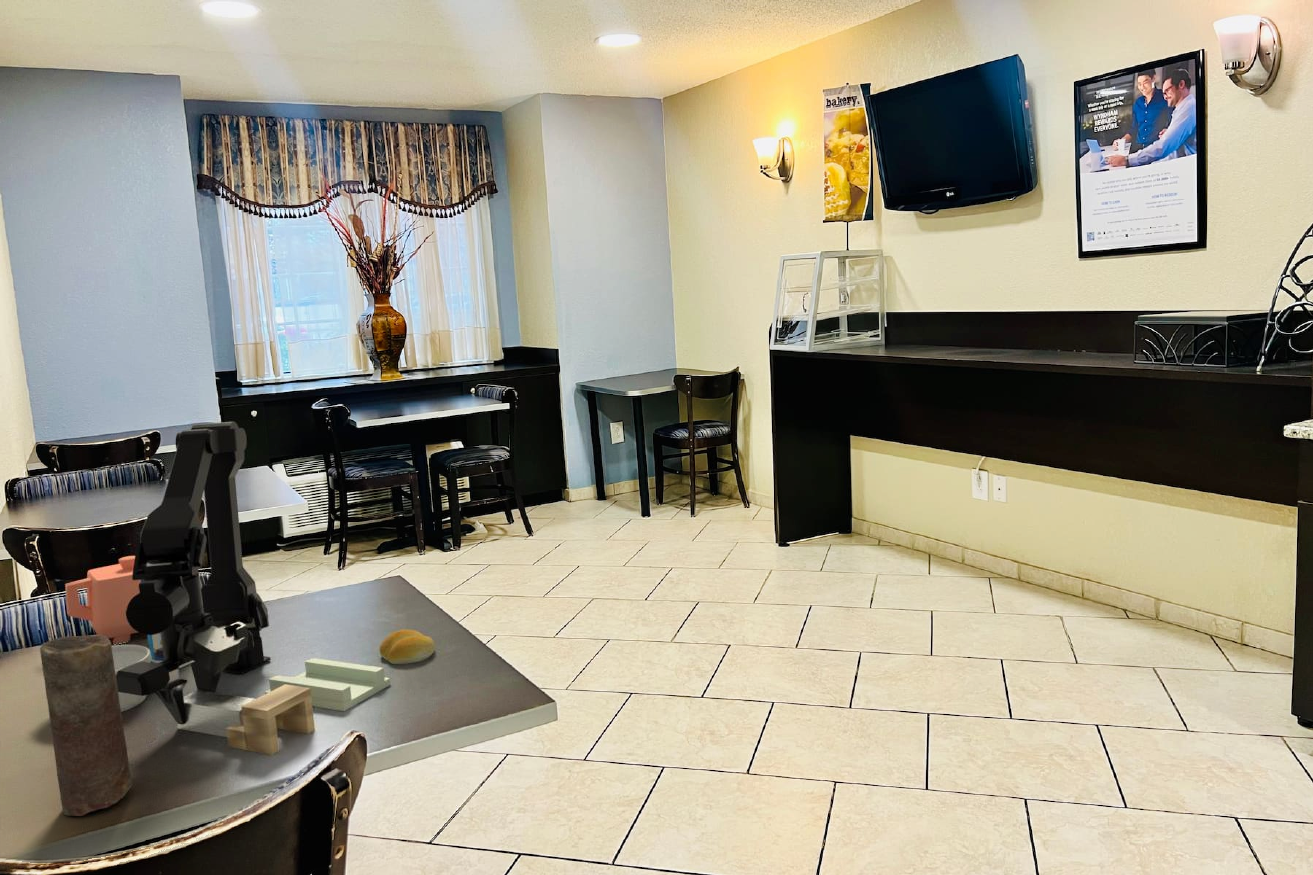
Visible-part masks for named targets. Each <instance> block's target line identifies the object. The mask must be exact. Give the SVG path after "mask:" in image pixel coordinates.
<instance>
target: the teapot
mask: <svg viewBox="0 0 1313 875" xmlns="http://www.w3.org/2000/svg"><path fill="white" fill-rule="evenodd" d="M134 561H135V555H128V556H123V557H120V558H118V563H117V564H112V565H108V566H102V567H97V568H92V569H89V570H88V571H87V575H86V578H83V579H79V580H78V579H77V580H75V581H71V582H68V583H65V584H64V586H65V598H66V600H65V601H66V613H67V615H68V617H72V618H75V619H76V618H77V619H81V620H86V621H88V622H90V624H91V627H92V628H93V630H94V632H95V634H96V635H97V636H98V635H101V636H104V637H107V638H108V639H113V640H112V642H113V644H116V643H117V644H119V643H123V642H127V641H129V640H130V641H131V635H132V634H138V633H139V632H137V631H136V630H134V629H133V628H132V627H131V626H130V624H129V623H128V621H127V618H126V610H127V606H128V604H129V602H130V600H131V599H132V598H133V597H134V596H135V595H137V594H138V593H139V583H140V580H133V579H132V574H133V567H134ZM84 589H86V605H84V604H83V605H82V604H81V602H80V596H79V590H84ZM130 641H129V642H130Z"/></svg>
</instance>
